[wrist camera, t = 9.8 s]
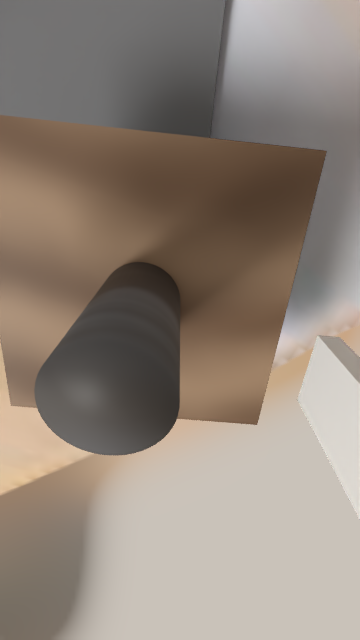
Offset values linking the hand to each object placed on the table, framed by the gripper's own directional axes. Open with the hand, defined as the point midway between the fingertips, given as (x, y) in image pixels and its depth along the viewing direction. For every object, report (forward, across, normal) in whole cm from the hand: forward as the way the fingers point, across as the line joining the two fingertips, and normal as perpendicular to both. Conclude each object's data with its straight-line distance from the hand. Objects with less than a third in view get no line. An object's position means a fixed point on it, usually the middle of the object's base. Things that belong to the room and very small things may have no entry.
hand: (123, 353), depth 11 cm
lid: (+7, 0, 0) cm, 7 cm away
